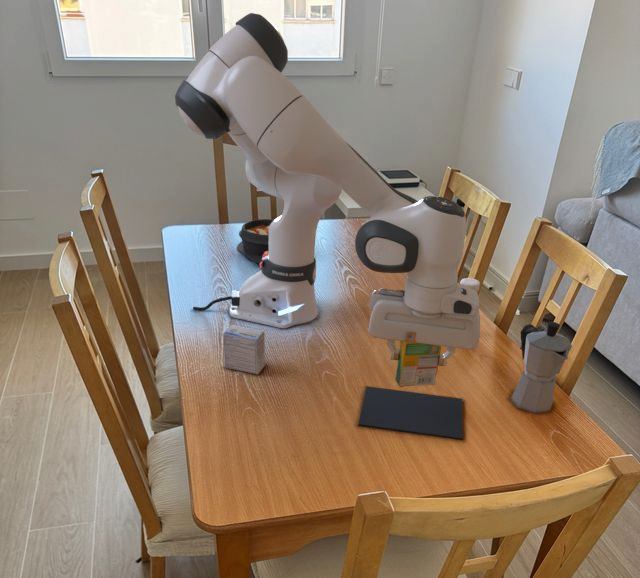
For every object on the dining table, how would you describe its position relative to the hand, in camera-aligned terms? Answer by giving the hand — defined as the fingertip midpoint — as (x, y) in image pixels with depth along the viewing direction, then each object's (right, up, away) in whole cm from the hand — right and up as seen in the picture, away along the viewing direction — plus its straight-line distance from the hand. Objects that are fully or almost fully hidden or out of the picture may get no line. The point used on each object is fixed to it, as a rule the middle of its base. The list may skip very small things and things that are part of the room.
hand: (418, 361), depth 120 cm
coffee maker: (+25, -7, +13) cm, 29 cm away
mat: (0, -9, +7) cm, 12 cm away
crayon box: (0, -4, +3) cm, 5 cm away
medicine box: (-35, +1, +19) cm, 40 cm away
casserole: (-35, +40, +73) cm, 90 cm away
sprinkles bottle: (+16, +11, +36) cm, 41 cm away
